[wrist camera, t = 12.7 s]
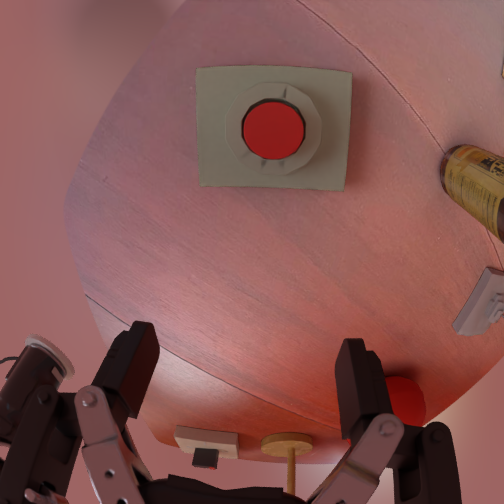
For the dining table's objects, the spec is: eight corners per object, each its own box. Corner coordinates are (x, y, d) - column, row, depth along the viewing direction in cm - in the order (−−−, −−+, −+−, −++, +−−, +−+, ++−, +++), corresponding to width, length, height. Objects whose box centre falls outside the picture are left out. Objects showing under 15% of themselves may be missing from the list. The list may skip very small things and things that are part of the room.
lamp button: (245, 154, 20) (243, 158, 19) (245, 101, 18) (243, 101, 17) (300, 156, 20) (302, 161, 19) (302, 103, 18) (304, 103, 17)
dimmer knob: (197, 449, 51) (194, 467, 47) (195, 447, 50) (191, 465, 46) (219, 451, 50) (216, 469, 46) (217, 449, 49) (214, 467, 45)
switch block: (205, 179, 25) (194, 193, 22) (202, 70, 20) (189, 65, 17) (338, 184, 25) (349, 198, 21) (345, 74, 20) (359, 70, 16)
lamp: (260, 449, 54) (252, 558, 29) (262, 431, 49) (252, 561, 24) (336, 447, 53) (341, 554, 28) (349, 429, 48) (358, 554, 23)
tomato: (336, 373, 38) (345, 444, 28) (424, 354, 35) (448, 417, 25) (336, 413, 44) (341, 470, 34) (409, 397, 42) (423, 450, 31)
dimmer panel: (184, 441, 56) (182, 452, 53) (176, 425, 51) (173, 437, 48) (239, 448, 55) (237, 459, 52) (237, 432, 50) (236, 445, 47)
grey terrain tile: (495, 325, 32) (505, 340, 29) (446, 336, 33) (455, 355, 30) (522, 262, 26) (536, 277, 23) (473, 268, 28) (487, 286, 24)
